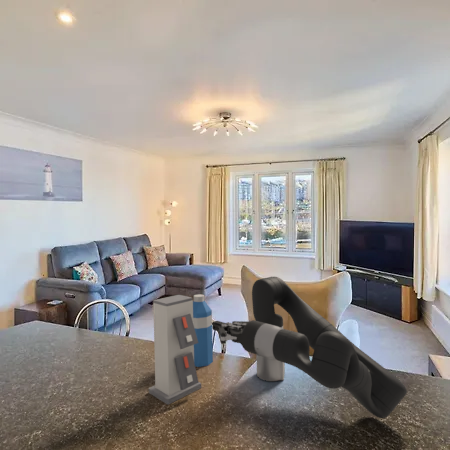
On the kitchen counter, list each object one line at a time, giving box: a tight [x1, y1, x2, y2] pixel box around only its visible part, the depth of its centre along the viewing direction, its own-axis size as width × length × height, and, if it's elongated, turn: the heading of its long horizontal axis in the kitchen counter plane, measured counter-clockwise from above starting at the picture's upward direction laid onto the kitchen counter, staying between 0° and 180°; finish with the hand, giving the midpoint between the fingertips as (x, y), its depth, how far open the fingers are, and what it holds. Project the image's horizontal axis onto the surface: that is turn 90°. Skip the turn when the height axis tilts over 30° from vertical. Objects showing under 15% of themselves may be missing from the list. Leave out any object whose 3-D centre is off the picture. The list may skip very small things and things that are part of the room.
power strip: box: [148, 294, 202, 405], centre depth 104 cm, size 10×13×29 cm
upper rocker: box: [173, 314, 198, 349], centre depth 100 cm, size 2×6×9 cm, turn 135°
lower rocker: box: [174, 352, 199, 390], centre depth 100 cm, size 1×6×9 cm, turn 136°
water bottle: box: [193, 293, 214, 368], centre depth 125 cm, size 9×9×25 cm
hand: (214, 324), depth 91 cm, fingers closed
